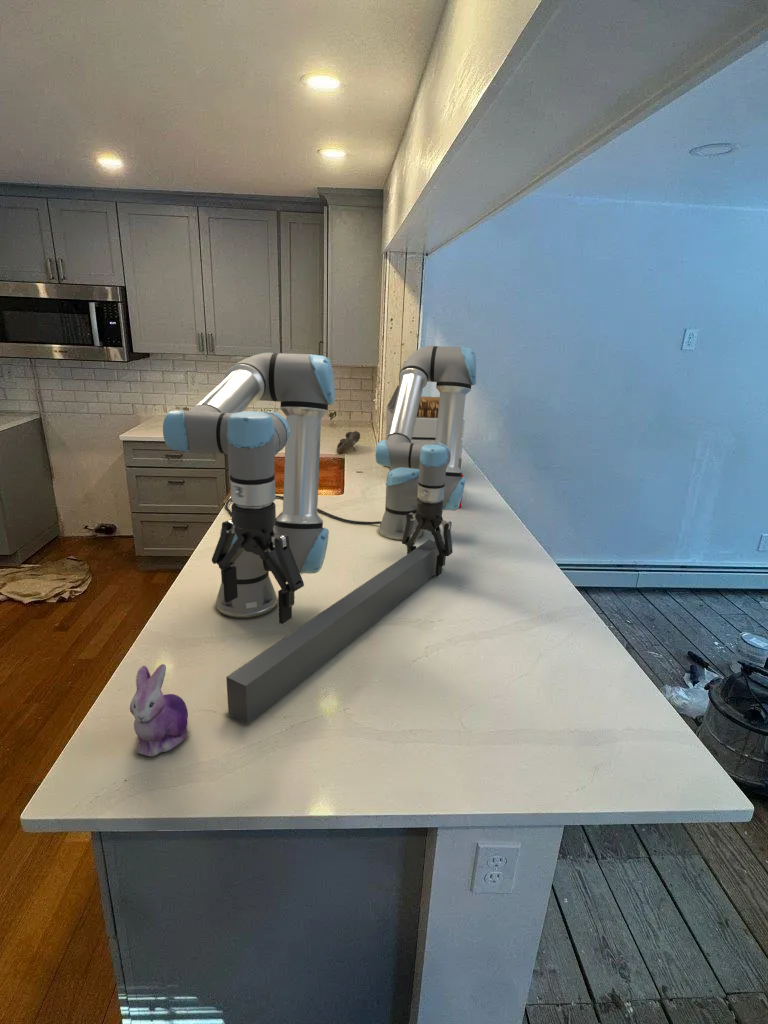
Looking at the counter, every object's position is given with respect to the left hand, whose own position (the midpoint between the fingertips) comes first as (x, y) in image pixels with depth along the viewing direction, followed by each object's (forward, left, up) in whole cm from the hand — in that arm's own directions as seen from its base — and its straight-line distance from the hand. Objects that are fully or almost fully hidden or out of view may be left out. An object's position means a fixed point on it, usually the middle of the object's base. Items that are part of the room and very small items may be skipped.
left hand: (257, 609), depth 106 cm
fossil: (-202, +65, -21) cm, 214 cm away
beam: (-24, +26, -21) cm, 41 cm away
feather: (-105, +17, -21) cm, 108 cm away
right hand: (-47, +52, -20) cm, 73 cm away
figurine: (+7, -18, -21) cm, 28 cm away
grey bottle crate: (-152, +89, -21) cm, 178 cm away
